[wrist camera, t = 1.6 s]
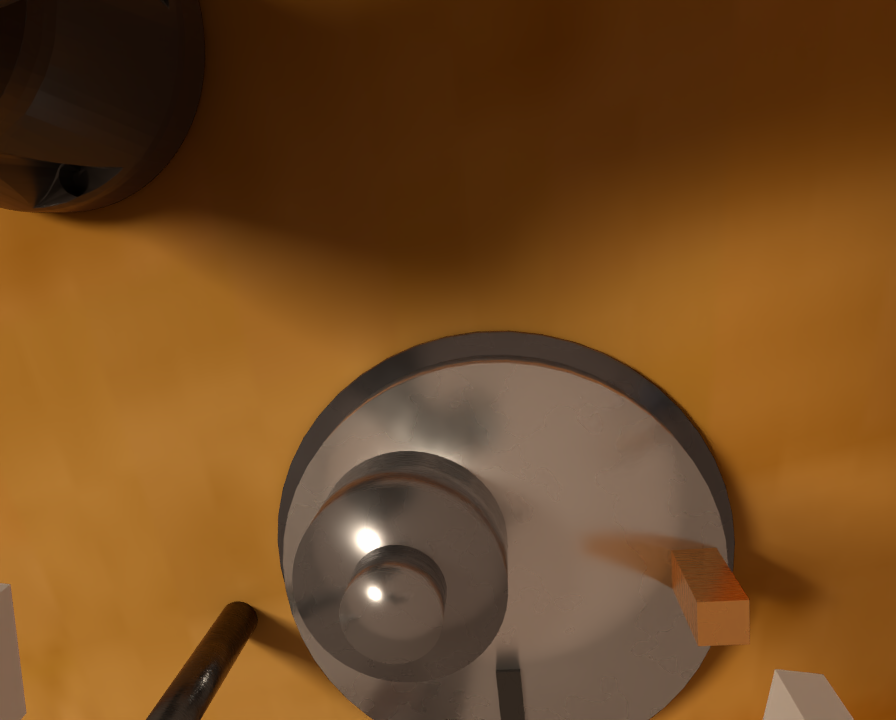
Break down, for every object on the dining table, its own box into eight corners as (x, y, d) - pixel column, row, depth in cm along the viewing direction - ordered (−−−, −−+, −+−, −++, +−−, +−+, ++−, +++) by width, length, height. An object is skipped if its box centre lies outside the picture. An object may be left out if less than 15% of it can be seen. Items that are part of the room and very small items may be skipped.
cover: (292, 577, 31) (244, 662, 25) (360, 419, 29) (324, 471, 23) (460, 651, 31) (450, 752, 25) (539, 499, 29) (549, 571, 23)
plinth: (222, 635, 35) (219, 640, 35) (378, 251, 30) (376, 252, 29) (599, 800, 36) (600, 807, 35) (823, 452, 30) (827, 455, 30)
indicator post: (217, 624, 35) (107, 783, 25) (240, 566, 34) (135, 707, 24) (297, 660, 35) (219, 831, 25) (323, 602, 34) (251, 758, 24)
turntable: (240, 636, 34) (188, 720, 29) (386, 281, 29) (358, 298, 24) (593, 791, 35) (611, 904, 29) (799, 467, 30) (869, 527, 24)
